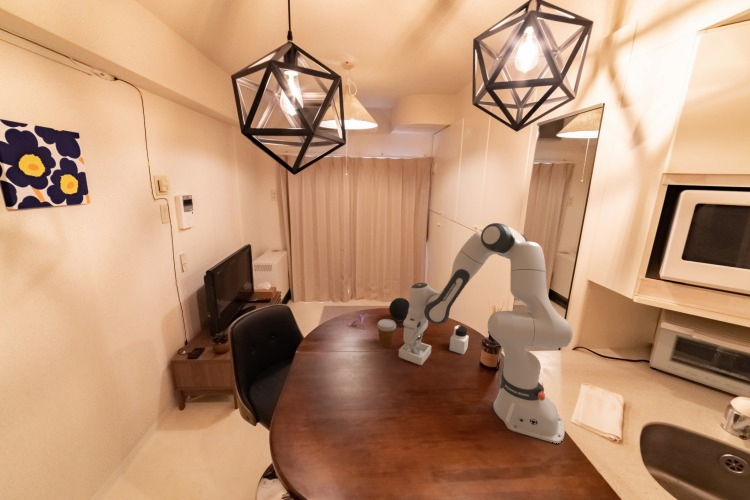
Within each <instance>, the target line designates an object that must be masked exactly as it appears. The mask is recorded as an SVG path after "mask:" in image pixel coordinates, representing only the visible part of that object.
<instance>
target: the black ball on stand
mask: <svg viewBox="0 0 750 500" xmlns="http://www.w3.org/2000/svg"><path fill="white" fill-rule="evenodd" d="M388 307H389V308H388V310H389V311H388V313H389V314H390V317H391V319H390V320H393V321H394V322H395V324H396V328H404V327H405V326H404V325H403V322H404V320H405V319H406V317H407V314H408V309H409V300H407V299H406V298H404V297H397V298H394V299H393V300H392V301H391V302H390V305H389V306H388Z"/></svg>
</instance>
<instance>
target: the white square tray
mask: <svg viewBox="0 0 750 500" xmlns="http://www.w3.org/2000/svg"><path fill="white" fill-rule="evenodd" d="M431 353H432V345H430V344H427V343H423V342H421V346H420V355H416V354H413V353H411V349H410V345H409V344H406V343H405V342H404V344H403V345H401V347H400V348H398V358H400V359H403V360H405V361H408V362H411V363H414V364H415V365H416V364H417V365H418V366H422V365H423V364H424V363H425V361H427V359H428V358H429V357H430V355H431Z"/></svg>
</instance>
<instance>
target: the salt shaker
mask: <svg viewBox="0 0 750 500" xmlns="http://www.w3.org/2000/svg"><path fill="white" fill-rule="evenodd" d="M421 343H422V339H421V335H420V336H419V337H418V338H417V339H416V340H415V341H414V343H413V344H414V348H413V349H411V353H413V354H416V355H420V346H421Z"/></svg>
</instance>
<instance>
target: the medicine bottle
mask: <svg viewBox="0 0 750 500" xmlns="http://www.w3.org/2000/svg"><path fill="white" fill-rule="evenodd" d="M467 332H468V329H467V328H466V327H465V326H463V325H455V326H454V328H453V334H452V335H451V336H450V340H449V349H448V350H449V351H451V352H454V353H457V354H460V355H465V353H466V351H467V349H468V347H469V346H468V345H469V339H470V337H469V335H468V333H467Z"/></svg>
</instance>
